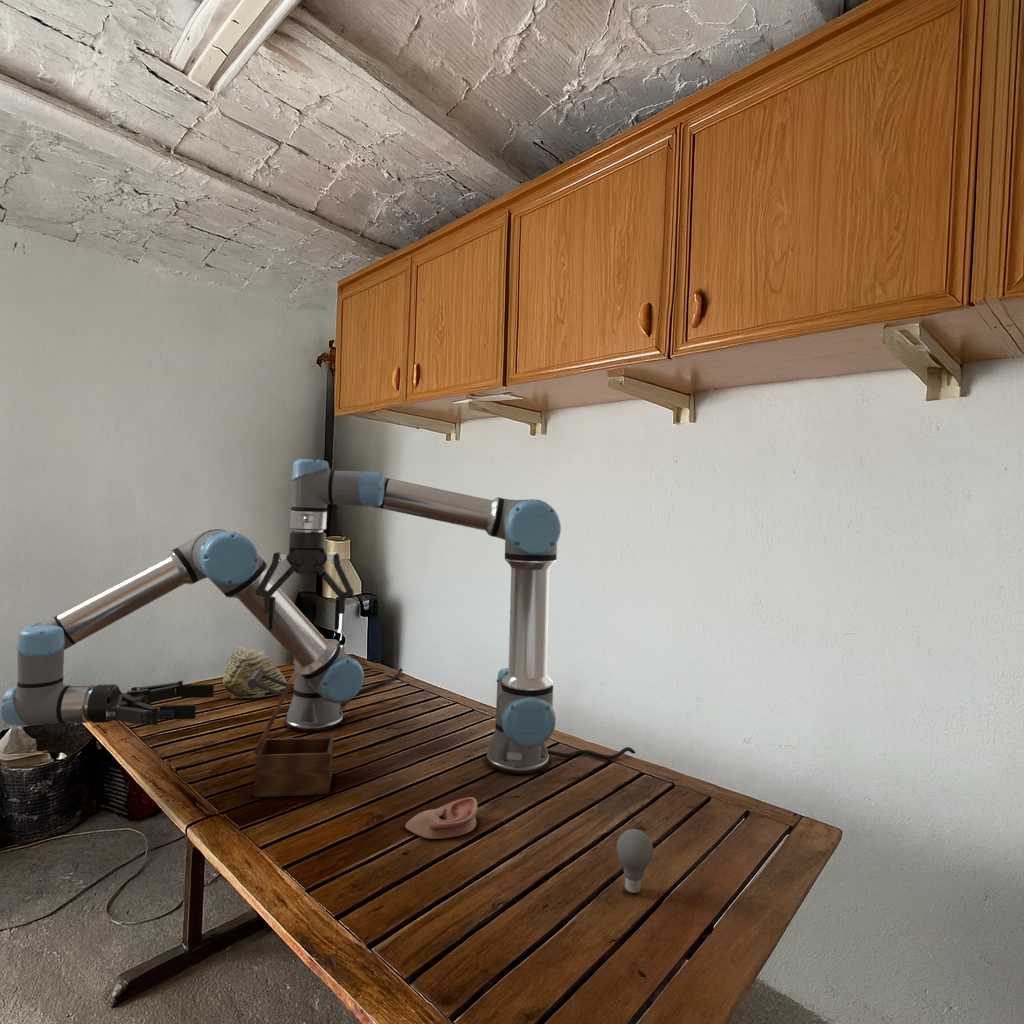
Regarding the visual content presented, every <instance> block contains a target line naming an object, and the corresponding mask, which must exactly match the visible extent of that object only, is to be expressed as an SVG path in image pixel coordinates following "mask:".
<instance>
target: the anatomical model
mask: <svg viewBox="0 0 1024 1024" xmlns="http://www.w3.org/2000/svg"><path fill="white" fill-rule="evenodd" d="M478 805H479V804H478V801H477V799H476V798H475V797H471V796H469V797H464V798H460V799H457V800H454V801H452V802H449V803H446V804H444V805H442V806H440V807H437V808H435V809H427V810H424V811H421V812H419V813H417V814H416V815H413V816H412V817H411V818H410V819H409V820H408V821H407V822H406V823H405V825H404V827H405V829H406V830H408V831H409V832H411V833H413V834H415V835H416V836H418V837H422V838H424V839H427V840H428V839H430V840H437V839H438V840H439V839H449V838H455V837H459V836H463V835H466V834H468V833H470V832H472V831H473V830H474V829H475V828H476V826H477V818H476V815H477V813H478V807H479V806H478Z"/></svg>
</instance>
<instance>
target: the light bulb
mask: <svg viewBox="0 0 1024 1024" xmlns="http://www.w3.org/2000/svg"><path fill="white" fill-rule="evenodd" d="M615 849H616V854H617V857H618V859H619V861H620V863H621V865H622V867H623V873H624V874H623V875H624V876H625V878H624V888H625V890H627V891H628V892H630V893H634V894H635V893H639V892H640V891H641V889H642V887H641V886H642V879H643V877H644V875H645V871H646V868H647V867H648V866H649V864H650V863H651V861H652V859H653V855H654V847H653V843H652V841H651V838H649V836H648V835H647V834H646V833H645V832H643V831H642V830H641V829H636V828H629V829H627V830H625V831H623V832H622V833H621V834H620V835H619V837H618V839H617V841H616V847H615Z"/></svg>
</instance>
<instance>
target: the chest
mask: <svg viewBox="0 0 1024 1024" xmlns="http://www.w3.org/2000/svg"><path fill="white" fill-rule="evenodd" d="M334 742H335V737H334V736H323V737H322V736H321V737H319V736H318V737H317V736H315V737H284V738H281V737H280V738H265V740H264V742H263V744H262V746H261V748H260V750H259V752H258V754H255V758H254V759H255V760H254V785H253V798H271V797H272V798H273V797H293V796H294V797H295V796H319V795H329V794H330V789H331V784H332V779H333V772H334V771H333V769H334Z"/></svg>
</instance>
